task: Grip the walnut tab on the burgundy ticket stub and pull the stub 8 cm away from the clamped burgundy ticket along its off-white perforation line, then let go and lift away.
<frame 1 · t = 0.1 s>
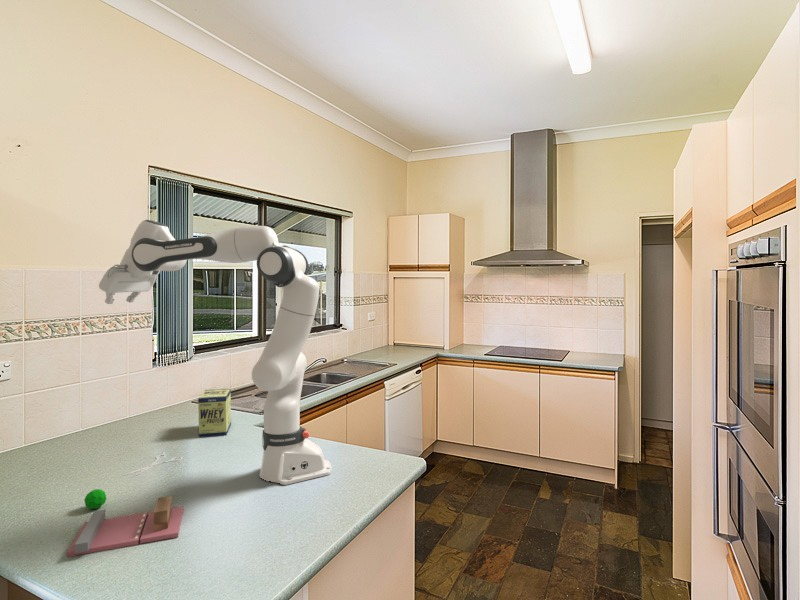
hand: (119, 302, 154), 54 cm above the table, tool tilted 30°, fingers open, 8 cm apart
ticket stub: (162, 514, 116), point 3 cm above the table, slide at 0.0 cm
polyhedron: (95, 508, 126), on the table
scissors: (152, 467, 155), on the table
ticket: (110, 534, 113), on the table
protein box: (215, 431, 190), on the table
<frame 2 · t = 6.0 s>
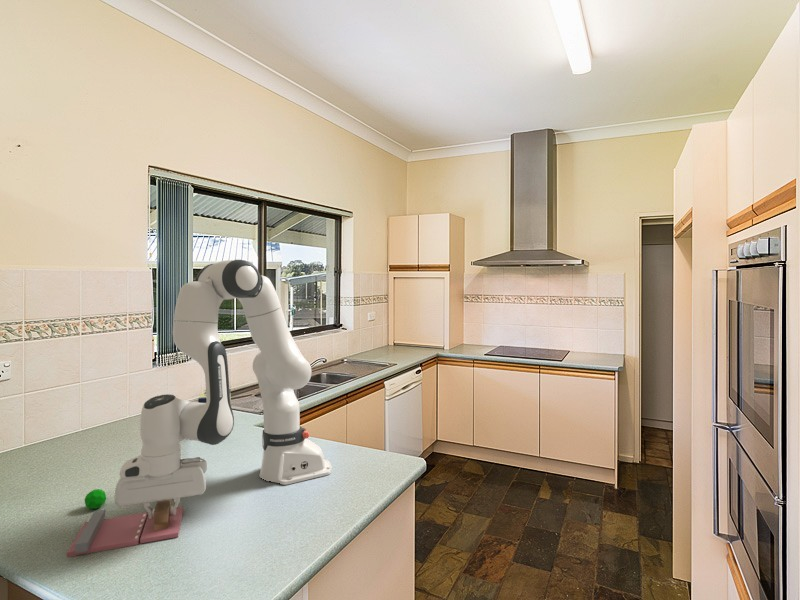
hand: (163, 516, 116), 2 cm above the table, tool pointing down, fingers closed on ticket stub, 3 cm apart
ticket stub: (162, 514, 116), point 3 cm above the table, slide at 0.0 cm, touching gripper
everything else where it was.
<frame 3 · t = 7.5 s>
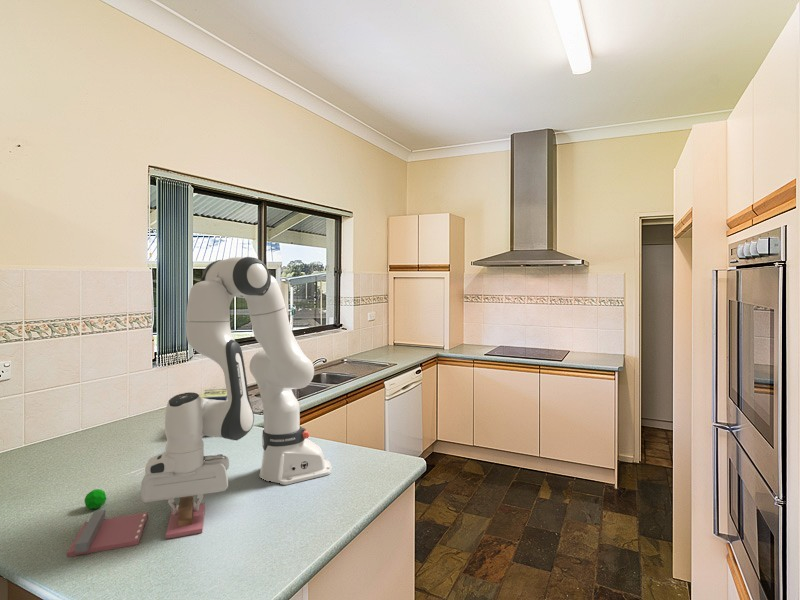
hand: (186, 512, 118), 2 cm above the table, tool pointing down, fingers closed on ticket stub, 3 cm apart
ticket stub: (186, 511, 118), point 3 cm above the table, slide at 5.4 cm, touching gripper
everything else where it was.
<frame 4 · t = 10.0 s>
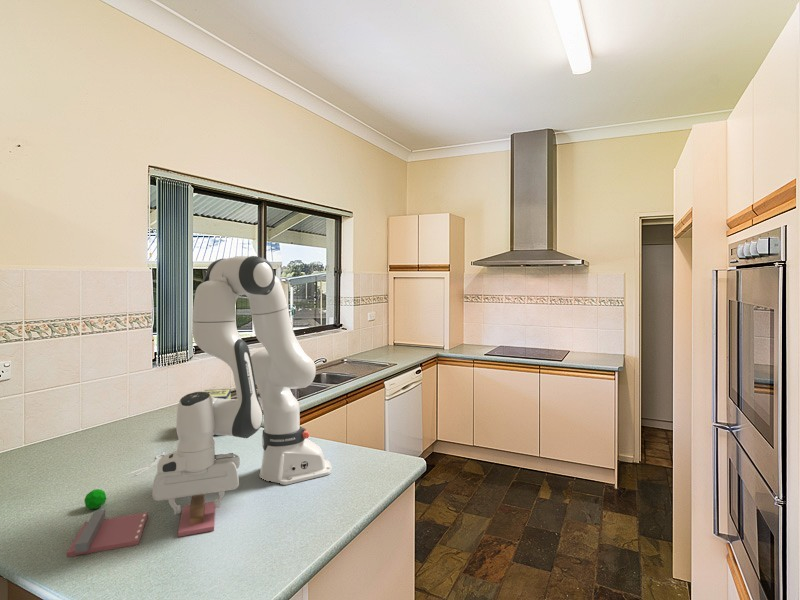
hand: (197, 510, 119), 2 cm above the table, tool pointing down, fingers open, 8 cm apart
ticket stub: (197, 509, 119), point 3 cm above the table, slide at 8.0 cm
everything else where it was.
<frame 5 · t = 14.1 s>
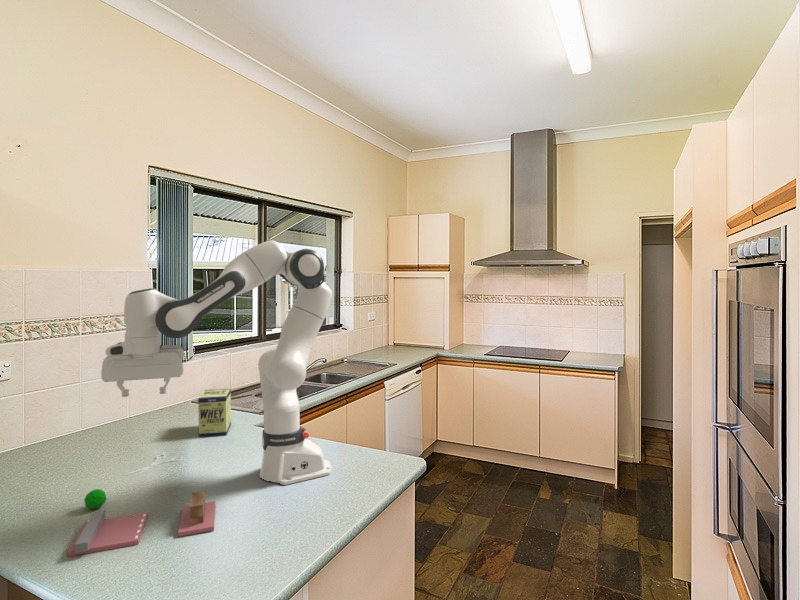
hand: (144, 394, 132), 29 cm above the table, tool pointing down, fingers open, 8 cm apart
nothing on the table moved.
at the end: ticket stub slide at 8.0 cm; the gripper is holding nothing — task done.
